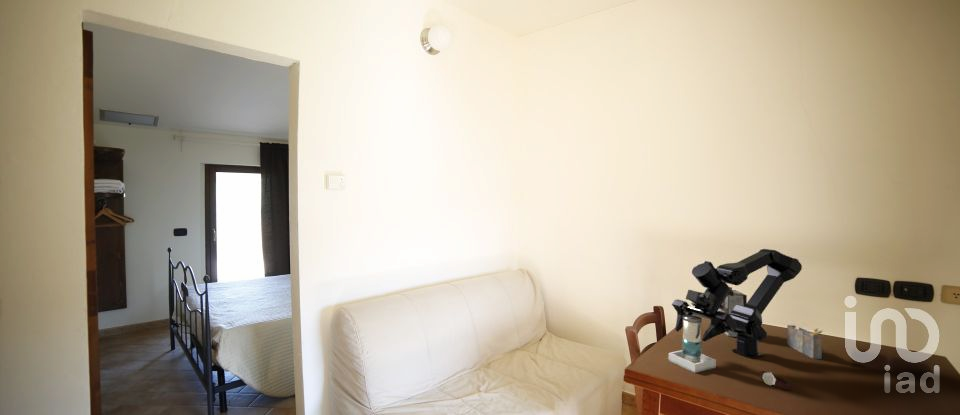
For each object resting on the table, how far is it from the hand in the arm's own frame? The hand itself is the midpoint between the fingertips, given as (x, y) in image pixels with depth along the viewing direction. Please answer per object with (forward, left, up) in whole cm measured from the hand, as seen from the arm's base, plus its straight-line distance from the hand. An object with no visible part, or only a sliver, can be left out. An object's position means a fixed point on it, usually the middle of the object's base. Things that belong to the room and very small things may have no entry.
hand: (689, 335), depth 116 cm
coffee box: (-41, -13, -9) cm, 44 cm away
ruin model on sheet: (-46, +8, -10) cm, 48 cm away
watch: (-11, +18, -10) cm, 23 cm away
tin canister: (-1, 0, -9) cm, 9 cm away
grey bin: (-1, 0, -9) cm, 9 cm away
